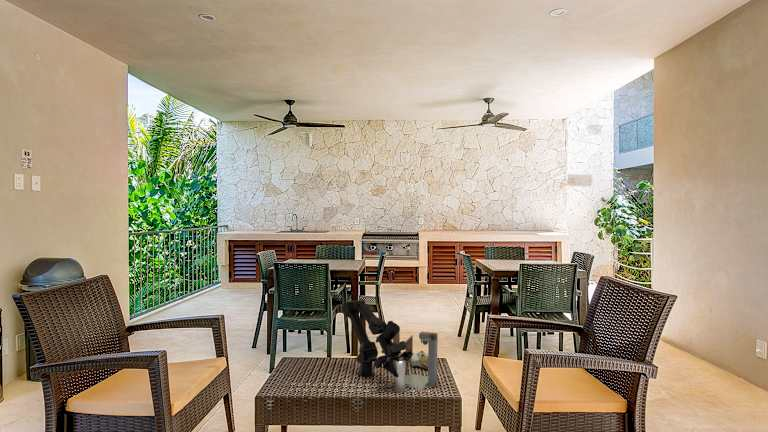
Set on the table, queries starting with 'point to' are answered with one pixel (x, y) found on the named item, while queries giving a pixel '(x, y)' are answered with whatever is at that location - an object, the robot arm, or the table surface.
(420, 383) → the press
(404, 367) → the cocktail shaker
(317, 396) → the table surface
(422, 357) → the ceramic sculpture
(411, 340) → the brown angular piece
